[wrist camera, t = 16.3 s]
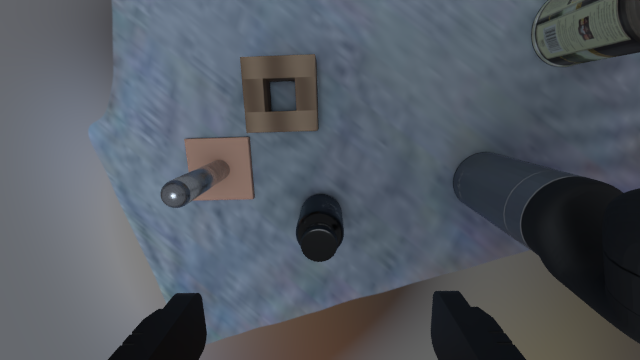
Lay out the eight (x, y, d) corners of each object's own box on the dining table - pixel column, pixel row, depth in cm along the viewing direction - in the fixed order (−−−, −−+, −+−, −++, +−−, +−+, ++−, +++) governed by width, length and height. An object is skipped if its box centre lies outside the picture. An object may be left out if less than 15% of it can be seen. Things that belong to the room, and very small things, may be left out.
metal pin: (228, 159, 47) (181, 183, 32) (230, 179, 48) (185, 211, 32) (208, 160, 47) (152, 183, 32) (211, 179, 48) (157, 212, 33)
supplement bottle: (293, 204, 49) (282, 233, 38) (329, 186, 49) (330, 210, 37) (312, 238, 51) (308, 277, 39) (348, 221, 50) (354, 255, 38)
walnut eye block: (316, 60, 44) (314, 54, 39) (318, 128, 46) (317, 130, 41) (249, 62, 44) (240, 57, 40) (255, 130, 47) (246, 132, 42)
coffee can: (621, 21, 42) (764, -22, 28) (564, 81, 44) (671, 69, 30) (571, -29, 41) (696, -100, 27) (515, 35, 43) (604, 0, 29)
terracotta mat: (249, 136, 47) (247, 137, 46) (254, 197, 49) (253, 199, 48) (187, 138, 47) (184, 139, 46) (195, 198, 50) (192, 200, 49)
